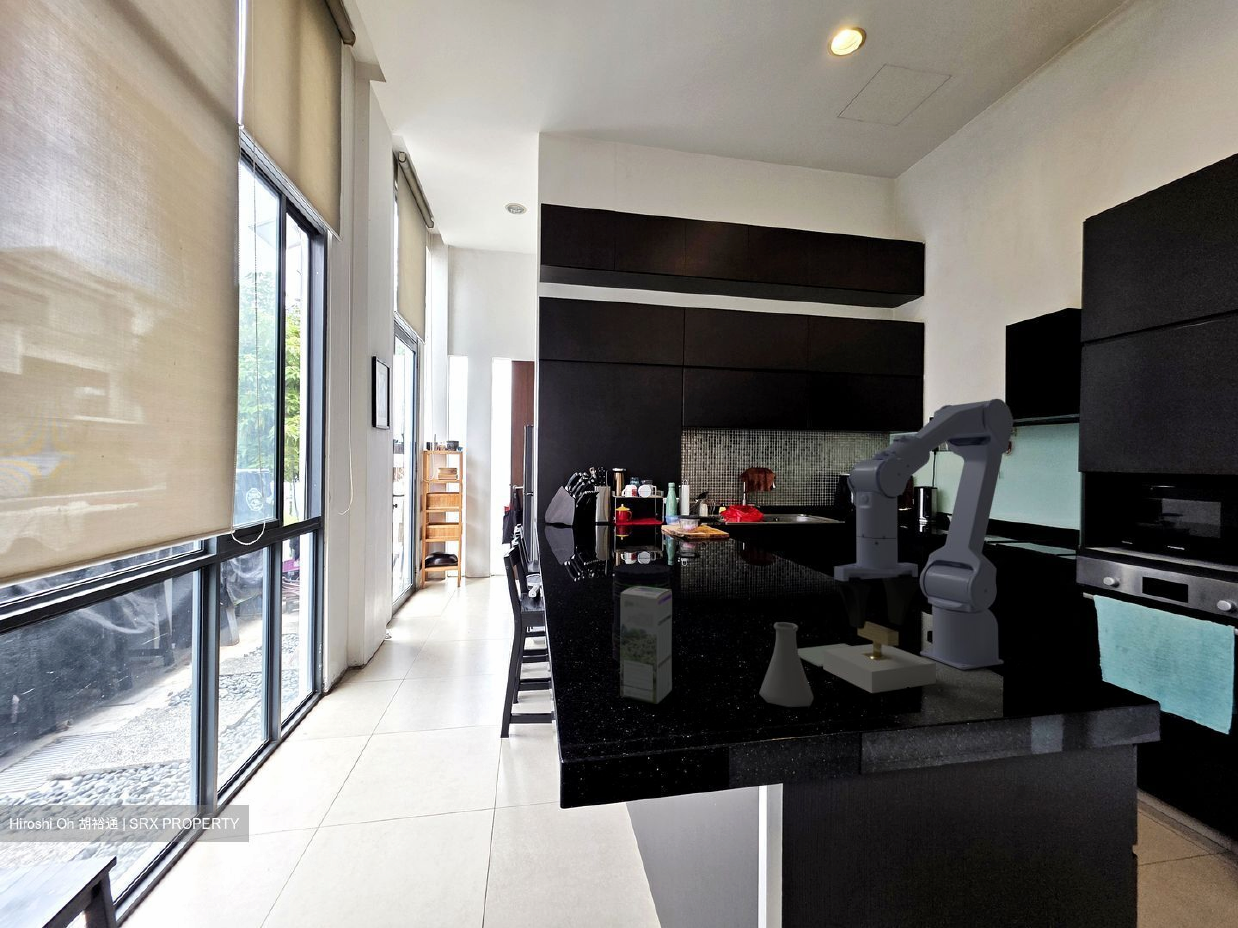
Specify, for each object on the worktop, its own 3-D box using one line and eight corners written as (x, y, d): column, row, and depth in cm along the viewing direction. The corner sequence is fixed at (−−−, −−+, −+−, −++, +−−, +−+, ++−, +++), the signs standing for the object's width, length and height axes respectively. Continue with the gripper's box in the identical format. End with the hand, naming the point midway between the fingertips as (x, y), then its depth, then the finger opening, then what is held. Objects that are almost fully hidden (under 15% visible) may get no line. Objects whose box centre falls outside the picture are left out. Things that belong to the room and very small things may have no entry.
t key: (856, 670, 83) (856, 622, 84) (868, 668, 84) (868, 621, 84) (887, 684, 78) (886, 633, 78) (899, 682, 79) (899, 631, 79)
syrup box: (673, 690, 75) (673, 587, 75) (656, 706, 70) (657, 596, 70) (636, 683, 78) (637, 584, 78) (618, 697, 72) (619, 591, 73)
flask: (818, 711, 68) (817, 634, 69) (760, 706, 70) (760, 630, 70) (809, 689, 76) (809, 619, 76) (757, 685, 77) (757, 616, 77)
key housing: (882, 661, 88) (882, 643, 88) (935, 683, 78) (935, 662, 78) (823, 669, 84) (823, 649, 84) (871, 693, 74) (871, 671, 74)
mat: (844, 645, 96) (844, 643, 96) (876, 658, 89) (876, 657, 89) (788, 651, 92) (788, 650, 92) (818, 666, 85) (818, 664, 85)
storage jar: (603, 662, 86) (604, 570, 87) (622, 644, 96) (622, 561, 96) (662, 669, 83) (663, 574, 84) (675, 650, 92) (676, 565, 93)
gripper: (858, 541, 76) (858, 636, 75) (934, 538, 80) (935, 628, 80) (824, 535, 82) (824, 623, 82) (896, 533, 87) (897, 617, 86)
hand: (876, 625), depth 81 cm, fingers open, 7 cm apart
